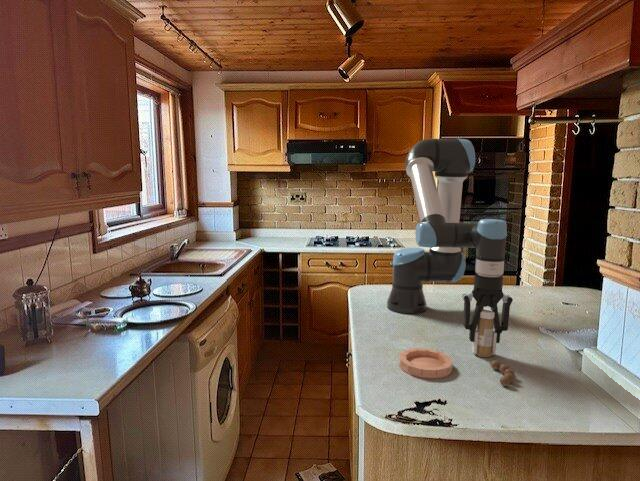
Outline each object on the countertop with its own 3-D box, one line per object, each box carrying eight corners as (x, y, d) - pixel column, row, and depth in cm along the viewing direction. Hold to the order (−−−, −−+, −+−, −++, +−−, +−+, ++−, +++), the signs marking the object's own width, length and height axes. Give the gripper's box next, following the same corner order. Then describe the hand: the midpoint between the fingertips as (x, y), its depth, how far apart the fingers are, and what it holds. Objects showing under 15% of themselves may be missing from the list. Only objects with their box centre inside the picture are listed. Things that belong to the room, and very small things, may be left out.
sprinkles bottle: (472, 351, 126) (475, 307, 124) (487, 351, 126) (490, 307, 124) (479, 358, 121) (482, 312, 119) (494, 357, 122) (498, 312, 120)
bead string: (487, 366, 116) (488, 358, 115) (506, 367, 115) (506, 359, 115) (501, 387, 104) (502, 378, 104) (521, 389, 104) (522, 379, 103)
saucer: (397, 354, 123) (397, 347, 123) (446, 357, 122) (446, 349, 121) (401, 377, 109) (401, 368, 109) (457, 380, 108) (457, 371, 108)
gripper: (460, 276, 117) (455, 356, 121) (526, 278, 115) (519, 359, 119) (454, 270, 125) (450, 345, 128) (516, 272, 123) (510, 348, 126)
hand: (483, 352), depth 124 cm, fingers closed on sprinkles bottle, 4 cm apart
